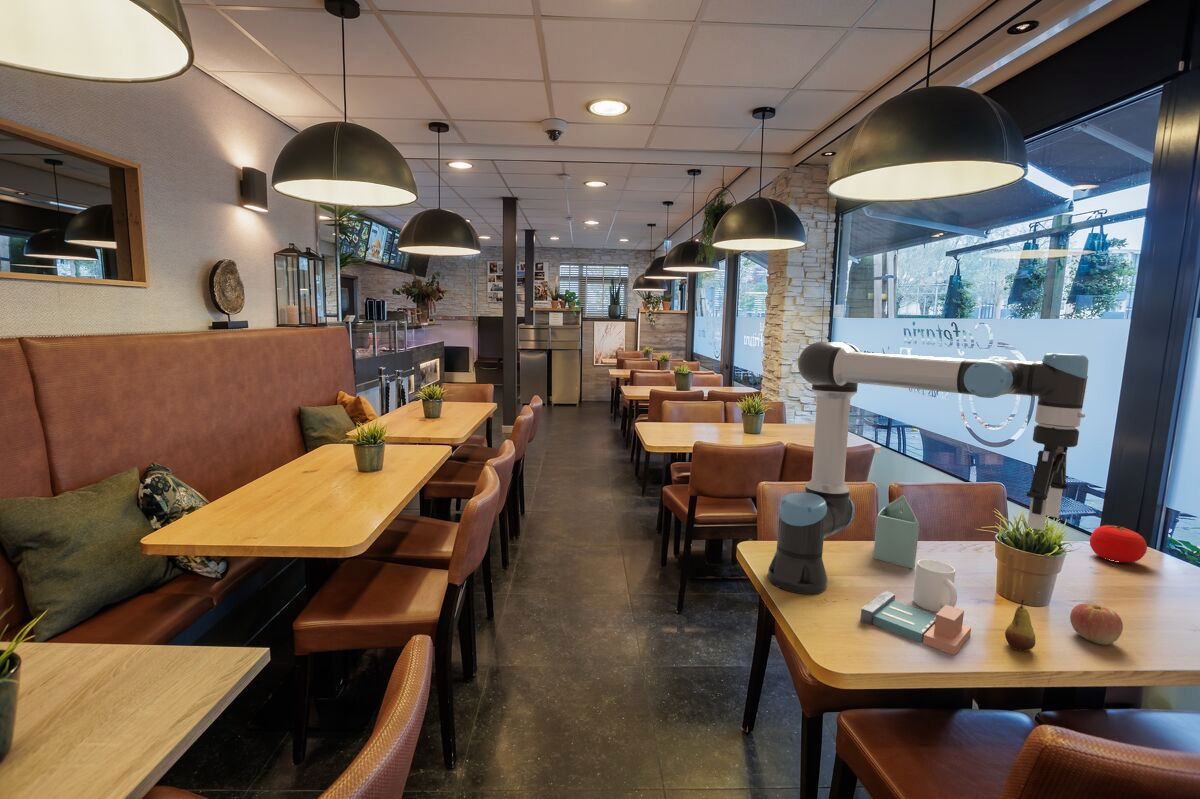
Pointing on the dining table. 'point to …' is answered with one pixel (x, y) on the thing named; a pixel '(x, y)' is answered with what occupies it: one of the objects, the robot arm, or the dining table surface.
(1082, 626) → the apple
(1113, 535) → the tomato
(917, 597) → the mug
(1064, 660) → the dining table surface
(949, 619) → the stub
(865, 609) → the grey end rail
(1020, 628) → the fruit
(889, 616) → the striped teal tile
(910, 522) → the pale teal hollow box
